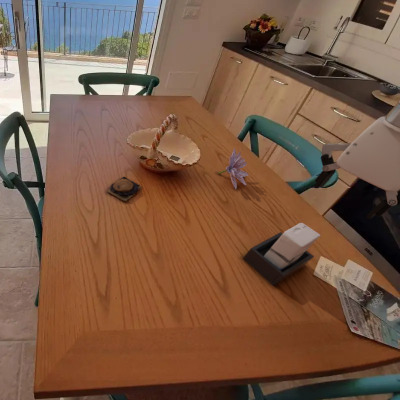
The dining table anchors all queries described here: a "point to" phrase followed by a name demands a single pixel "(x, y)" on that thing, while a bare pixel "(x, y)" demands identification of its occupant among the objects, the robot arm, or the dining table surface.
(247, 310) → the dining table surface
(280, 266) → the ink box
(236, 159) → the water lily
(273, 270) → the holder
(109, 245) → the dining table surface
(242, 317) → the dining table surface
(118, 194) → the square push button
